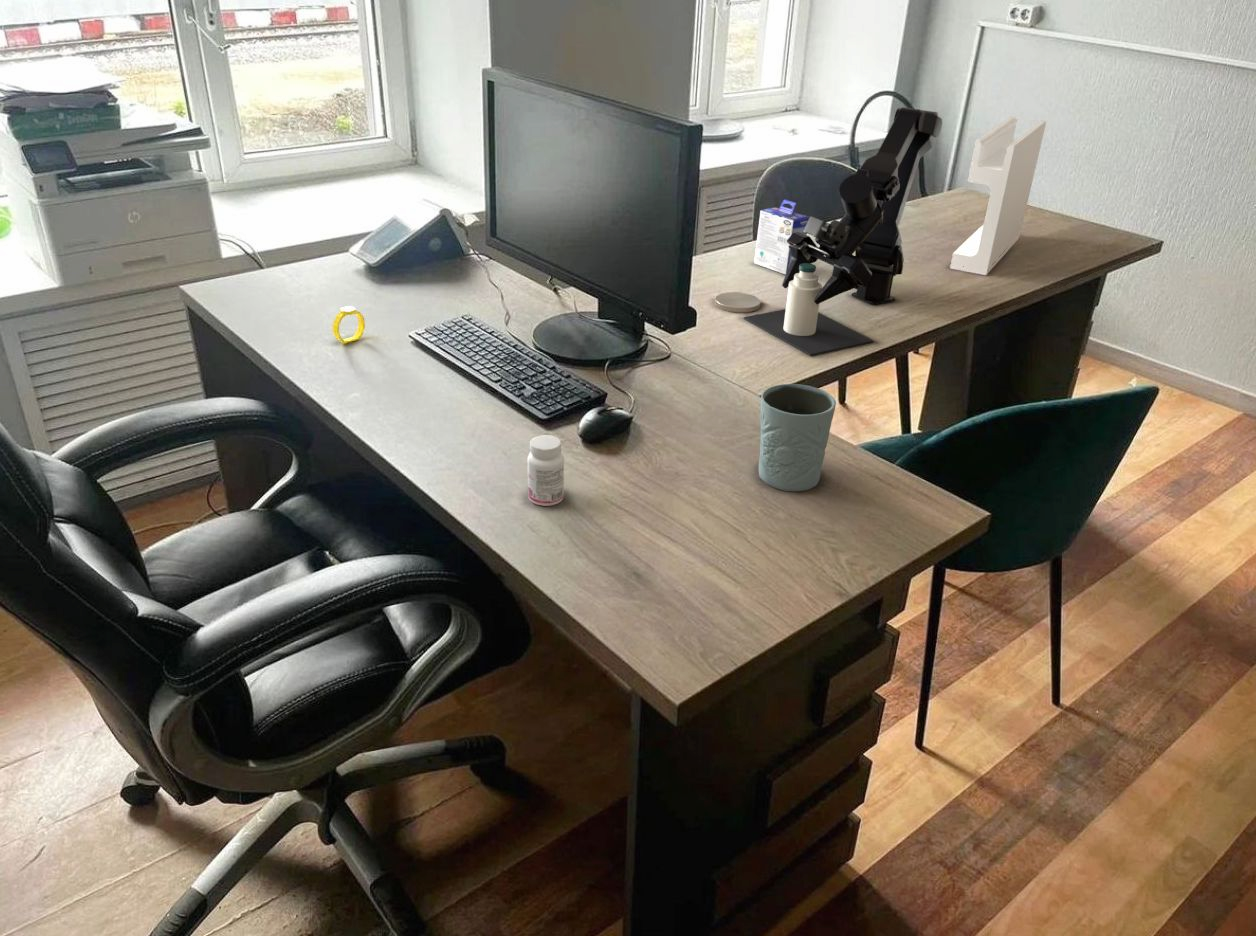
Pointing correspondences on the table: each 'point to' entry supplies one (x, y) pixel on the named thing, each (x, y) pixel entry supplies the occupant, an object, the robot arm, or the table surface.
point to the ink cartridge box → (777, 236)
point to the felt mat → (822, 341)
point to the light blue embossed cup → (794, 435)
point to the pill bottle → (545, 471)
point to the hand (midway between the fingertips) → (799, 294)
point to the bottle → (802, 302)
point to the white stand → (1000, 193)
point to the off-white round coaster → (737, 302)
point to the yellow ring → (338, 318)
